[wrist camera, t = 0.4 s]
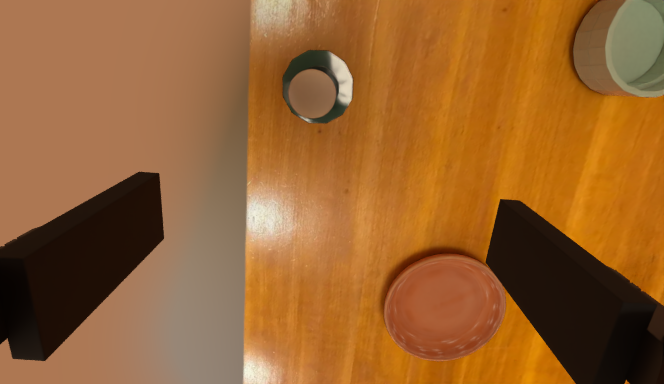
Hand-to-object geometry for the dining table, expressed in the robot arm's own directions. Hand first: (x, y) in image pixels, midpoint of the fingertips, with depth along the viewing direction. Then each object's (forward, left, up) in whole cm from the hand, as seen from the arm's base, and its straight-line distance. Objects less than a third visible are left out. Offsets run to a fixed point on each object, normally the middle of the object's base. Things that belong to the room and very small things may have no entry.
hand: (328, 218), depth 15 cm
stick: (-4, -1, -31) cm, 32 cm away
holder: (-4, -1, -32) cm, 32 cm away
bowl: (-10, +33, -32) cm, 47 cm away
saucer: (+24, +16, -32) cm, 43 cm away
